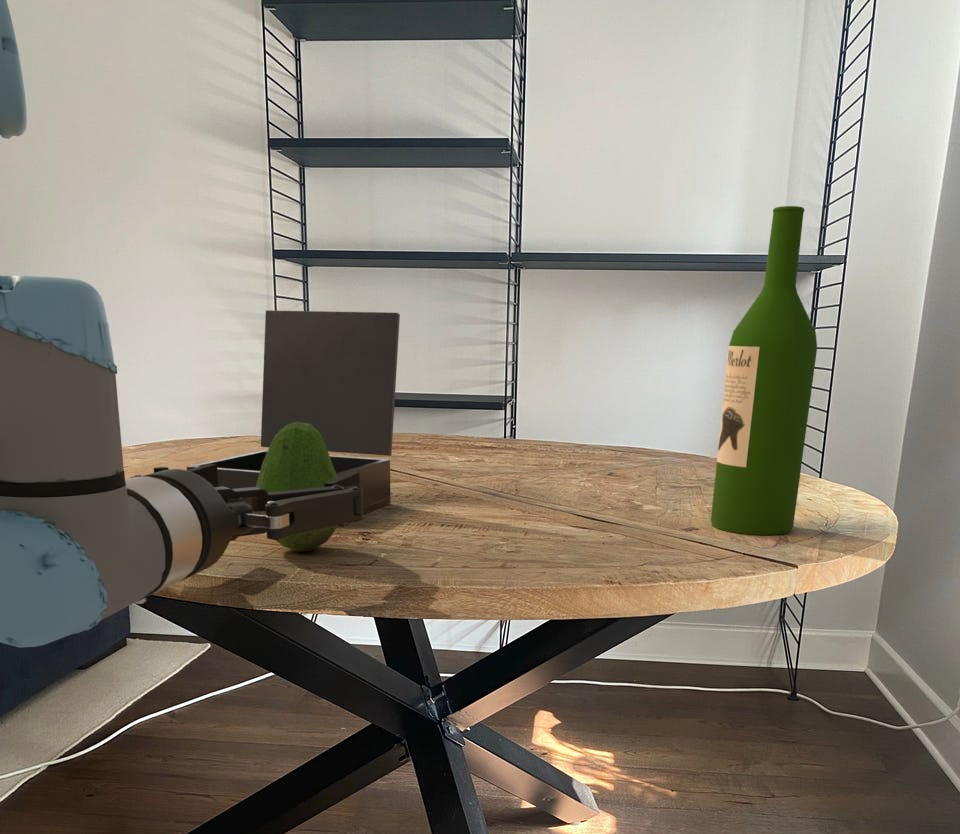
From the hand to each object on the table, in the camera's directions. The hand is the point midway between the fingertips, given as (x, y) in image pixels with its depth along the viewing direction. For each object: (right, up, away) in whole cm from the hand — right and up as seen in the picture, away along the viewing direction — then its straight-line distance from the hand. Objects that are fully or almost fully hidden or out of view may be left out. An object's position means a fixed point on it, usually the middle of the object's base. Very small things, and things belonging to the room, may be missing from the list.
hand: (284, 483), depth 82 cm
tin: (-4, +1, +25) cm, 25 cm away
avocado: (+1, -6, +5) cm, 8 cm away
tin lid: (-1, +17, +28) cm, 33 cm away
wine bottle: (+48, -2, +20) cm, 52 cm away
